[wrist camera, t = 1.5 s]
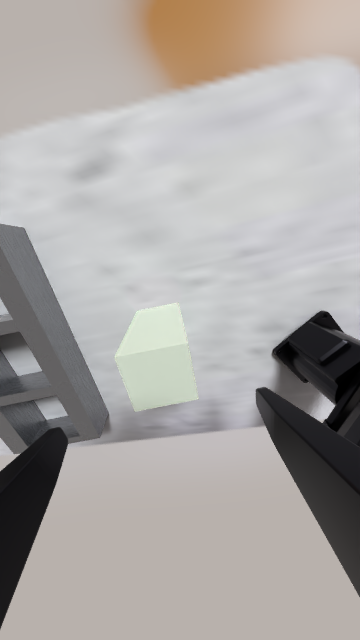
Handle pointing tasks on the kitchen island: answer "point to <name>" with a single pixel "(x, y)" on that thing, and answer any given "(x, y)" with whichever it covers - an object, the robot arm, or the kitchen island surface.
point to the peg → (157, 359)
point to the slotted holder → (41, 354)
